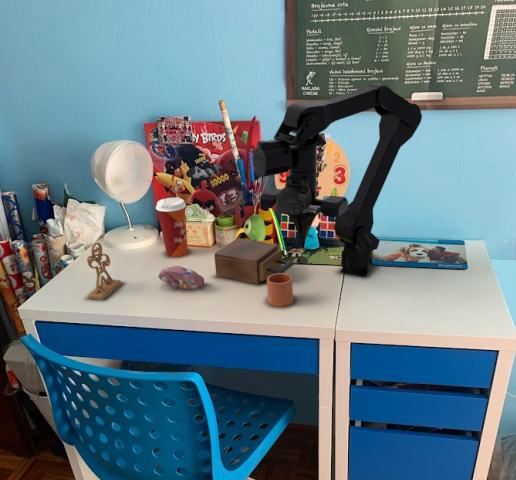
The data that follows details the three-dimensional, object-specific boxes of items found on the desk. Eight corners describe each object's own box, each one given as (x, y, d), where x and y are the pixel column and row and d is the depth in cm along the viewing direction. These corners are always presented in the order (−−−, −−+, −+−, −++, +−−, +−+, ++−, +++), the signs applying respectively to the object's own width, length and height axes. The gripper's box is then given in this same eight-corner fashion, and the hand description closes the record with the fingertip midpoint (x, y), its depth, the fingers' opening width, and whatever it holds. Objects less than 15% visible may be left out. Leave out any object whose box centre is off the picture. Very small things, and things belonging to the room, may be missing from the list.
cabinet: (278, 267, 145) (278, 244, 142) (257, 284, 137) (256, 260, 134) (238, 260, 150) (237, 238, 147) (216, 276, 143) (214, 253, 139)
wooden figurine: (107, 282, 143) (97, 235, 137) (121, 283, 142) (112, 236, 136) (88, 298, 136) (77, 250, 130) (103, 300, 135) (92, 251, 129)
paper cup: (186, 258, 153) (179, 206, 146) (158, 258, 155) (150, 206, 147) (195, 247, 160) (189, 196, 152) (168, 246, 161) (161, 196, 154)
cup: (297, 298, 131) (296, 275, 128) (285, 308, 127) (285, 285, 124) (275, 293, 133) (274, 271, 130) (263, 304, 129) (262, 281, 126)
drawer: (297, 268, 142) (296, 252, 140) (279, 284, 135) (278, 267, 133) (245, 259, 148) (244, 243, 146) (225, 274, 142) (224, 257, 139)
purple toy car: (163, 292, 140) (153, 273, 135) (170, 277, 142) (160, 258, 137) (200, 296, 137) (192, 278, 131) (207, 281, 139) (198, 262, 134)
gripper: (244, 174, 121) (248, 246, 129) (328, 184, 112) (326, 259, 120) (270, 161, 129) (272, 229, 137) (350, 169, 120) (347, 241, 129)
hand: (303, 240), depth 130 cm, fingers closed
